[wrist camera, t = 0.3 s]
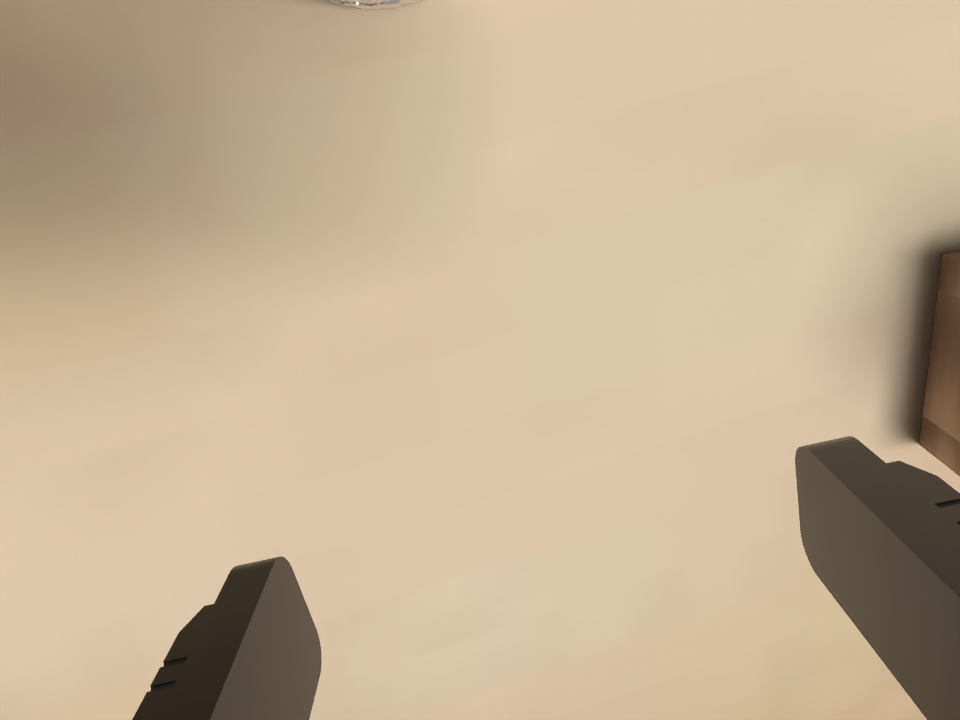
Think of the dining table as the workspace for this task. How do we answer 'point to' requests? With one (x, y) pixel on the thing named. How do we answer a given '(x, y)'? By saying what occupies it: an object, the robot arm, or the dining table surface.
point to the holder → (944, 370)
